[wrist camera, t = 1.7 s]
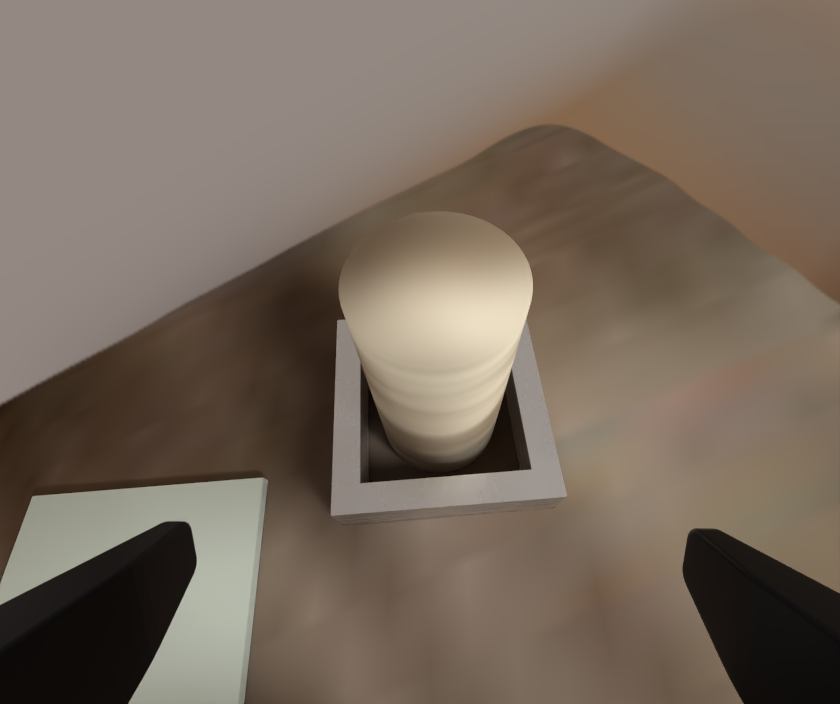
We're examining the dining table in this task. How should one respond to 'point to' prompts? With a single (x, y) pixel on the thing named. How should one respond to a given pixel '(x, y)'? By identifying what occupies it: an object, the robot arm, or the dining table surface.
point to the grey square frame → (447, 494)
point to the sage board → (206, 594)
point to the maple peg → (436, 330)
